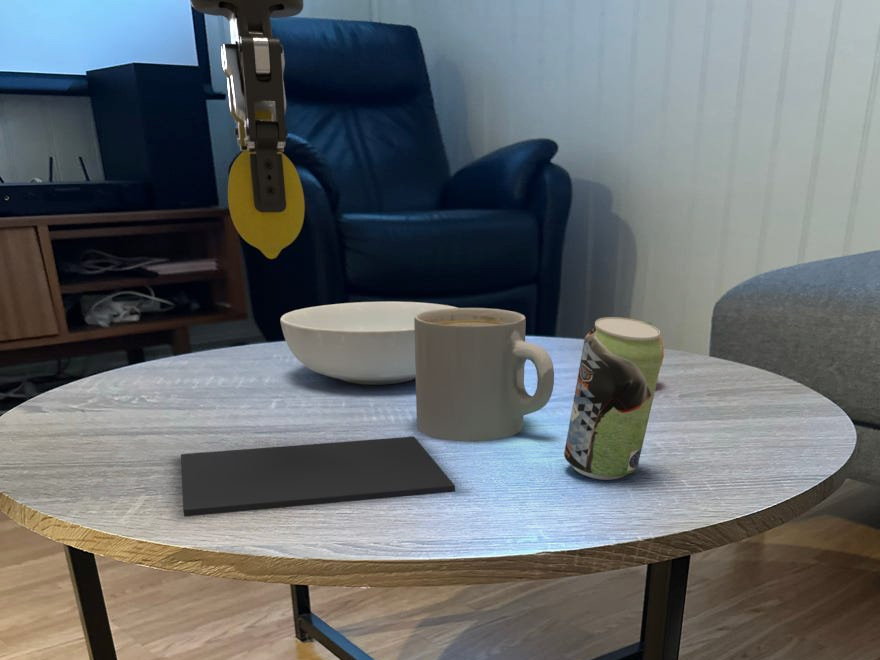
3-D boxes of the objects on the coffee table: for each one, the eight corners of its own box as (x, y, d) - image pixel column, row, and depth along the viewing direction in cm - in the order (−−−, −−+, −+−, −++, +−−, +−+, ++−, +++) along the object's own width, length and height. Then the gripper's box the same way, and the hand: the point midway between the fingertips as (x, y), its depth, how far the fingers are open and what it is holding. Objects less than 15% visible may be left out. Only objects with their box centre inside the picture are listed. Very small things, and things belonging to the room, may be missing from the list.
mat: (184, 517, 67) (183, 510, 66) (181, 460, 78) (180, 453, 78) (455, 492, 72) (455, 485, 71) (414, 442, 84) (414, 436, 83)
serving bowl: (436, 353, 119) (435, 296, 115) (496, 390, 101) (497, 323, 98) (271, 364, 112) (265, 304, 109) (305, 405, 95) (300, 335, 92)
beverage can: (586, 457, 80) (595, 310, 74) (665, 473, 76) (681, 319, 71) (547, 475, 75) (554, 320, 70) (629, 493, 72) (643, 331, 66)
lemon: (308, 262, 69) (299, 140, 65) (232, 263, 68) (218, 139, 65) (308, 254, 74) (299, 140, 70) (236, 255, 73) (223, 139, 69)
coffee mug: (395, 427, 88) (391, 316, 83) (469, 408, 94) (469, 304, 89) (499, 457, 80) (501, 336, 75) (572, 434, 86) (578, 321, 81)
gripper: (179, -58, 67) (209, 204, 75) (183, -101, 54) (220, 216, 62) (285, -51, 69) (304, 203, 76) (313, -92, 56) (332, 215, 64)
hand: (266, 208), depth 69 cm, fingers closed on lemon, 5 cm apart
